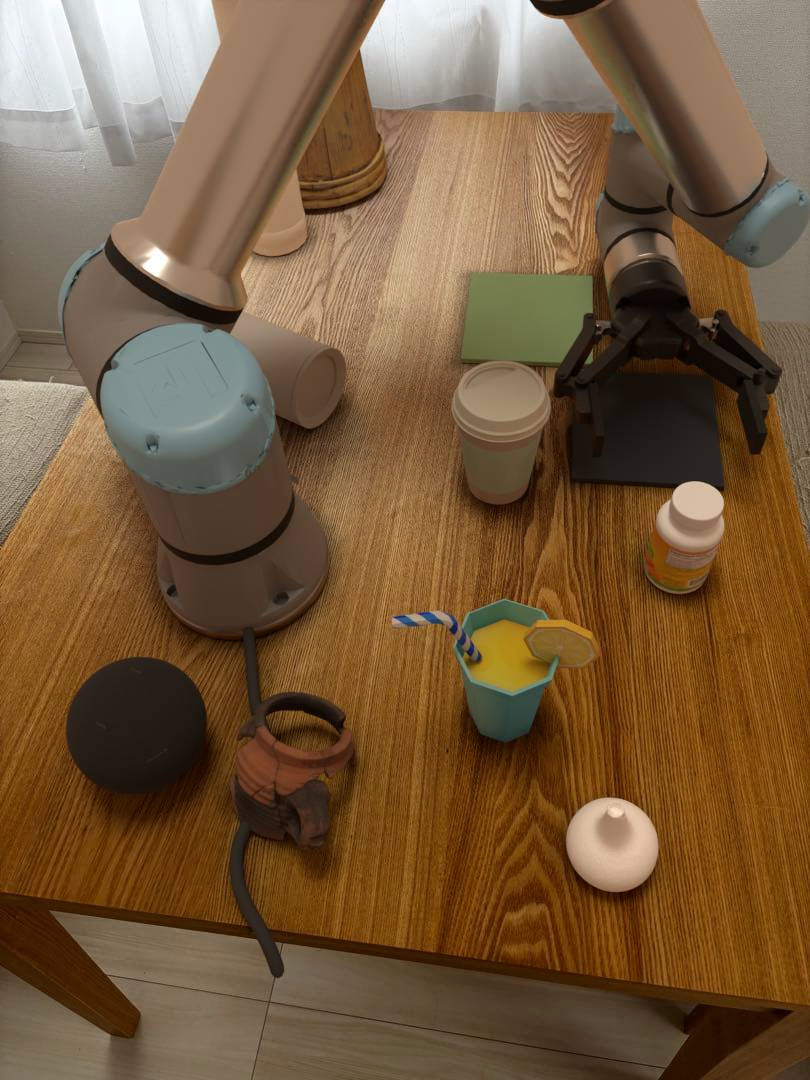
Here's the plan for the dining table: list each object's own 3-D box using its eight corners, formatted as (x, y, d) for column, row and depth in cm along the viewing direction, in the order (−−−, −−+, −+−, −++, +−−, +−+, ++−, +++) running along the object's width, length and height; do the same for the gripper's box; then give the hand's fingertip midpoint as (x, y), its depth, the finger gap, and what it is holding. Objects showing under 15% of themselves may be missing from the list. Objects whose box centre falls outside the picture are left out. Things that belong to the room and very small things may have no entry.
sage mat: (592, 368, 92) (593, 363, 91) (460, 362, 93) (460, 358, 93) (592, 280, 101) (592, 275, 100) (471, 276, 102) (471, 272, 102)
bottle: (285, 212, 112) (236, -52, 88) (320, 238, 108) (280, -31, 84) (233, 238, 110) (168, -28, 86) (268, 265, 106) (210, -5, 82)
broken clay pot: (208, 772, 68) (224, 689, 64) (318, 754, 72) (339, 677, 69) (256, 897, 59) (278, 810, 55) (379, 868, 64) (406, 786, 60)
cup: (404, 760, 67) (390, 667, 55) (404, 670, 72) (391, 566, 60) (586, 755, 66) (612, 661, 54) (574, 665, 71) (596, 560, 59)
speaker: (188, 828, 65) (149, 778, 57) (70, 795, 67) (16, 742, 59) (239, 709, 70) (210, 648, 62) (129, 682, 72) (87, 619, 64)
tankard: (239, 212, 113) (191, 3, 93) (279, 120, 127) (244, -80, 107) (376, 216, 111) (356, 2, 91) (401, 121, 124) (388, -82, 104)
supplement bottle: (648, 539, 78) (668, 468, 70) (709, 552, 77) (736, 481, 69) (638, 587, 75) (658, 518, 67) (702, 602, 74) (730, 533, 66)
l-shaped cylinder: (295, 308, 98) (125, 370, 94) (288, 239, 89) (99, 305, 84) (364, 428, 92) (185, 500, 87) (364, 367, 82) (164, 445, 78)
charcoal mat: (723, 490, 81) (724, 486, 80) (571, 481, 83) (572, 477, 82) (710, 379, 90) (711, 375, 89) (573, 373, 91) (573, 369, 91)
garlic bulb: (654, 903, 60) (676, 869, 53) (562, 889, 61) (573, 854, 54) (653, 813, 63) (674, 771, 57) (566, 802, 64) (577, 759, 58)
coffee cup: (542, 450, 85) (552, 356, 76) (542, 518, 80) (552, 427, 71) (455, 447, 86) (454, 354, 76) (450, 514, 81) (447, 424, 71)
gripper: (762, 316, 90) (813, 471, 77) (519, 322, 91) (530, 475, 79) (783, 254, 83) (842, 411, 71) (523, 261, 85) (535, 417, 73)
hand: (678, 445), depth 75 cm, fingers open, 13 cm apart
